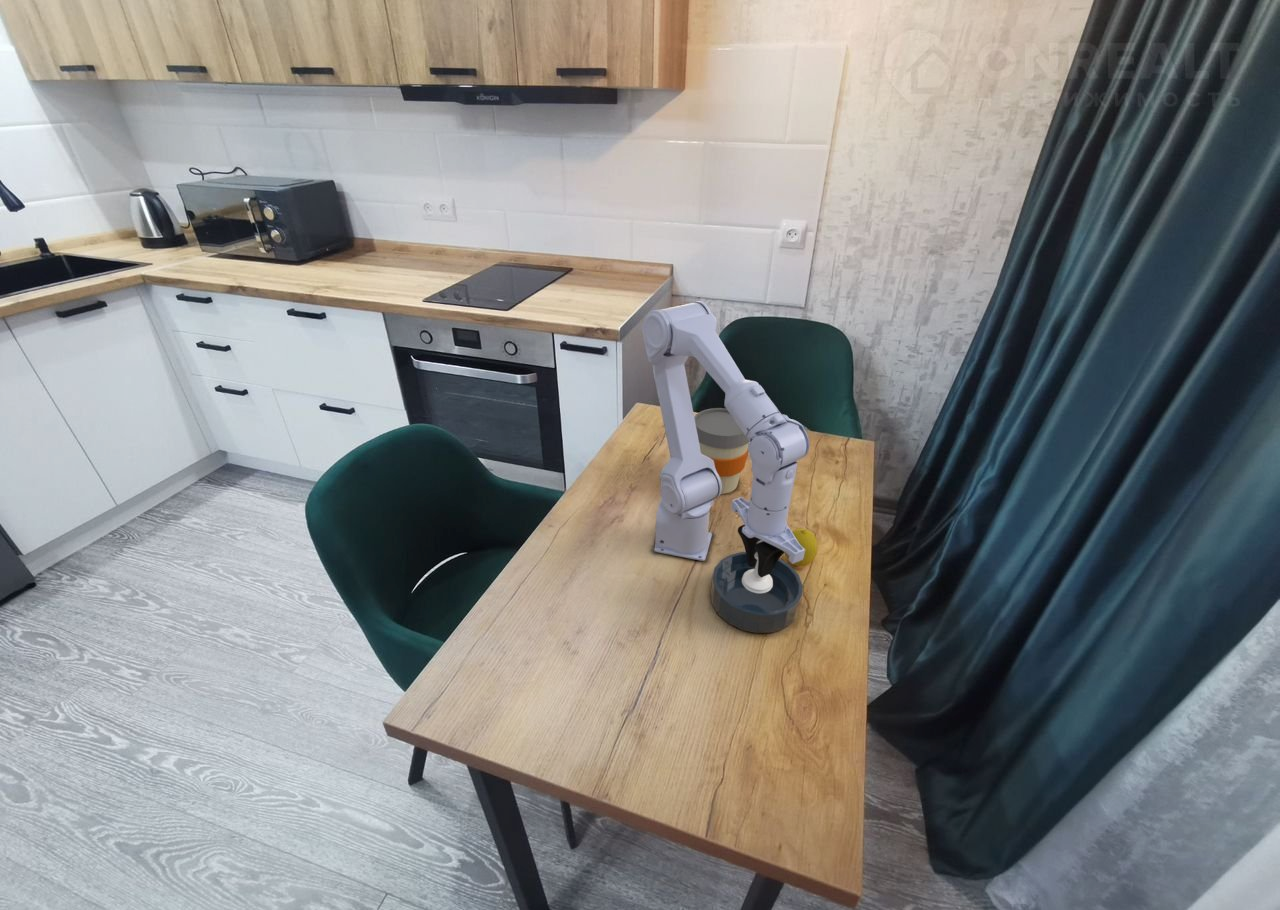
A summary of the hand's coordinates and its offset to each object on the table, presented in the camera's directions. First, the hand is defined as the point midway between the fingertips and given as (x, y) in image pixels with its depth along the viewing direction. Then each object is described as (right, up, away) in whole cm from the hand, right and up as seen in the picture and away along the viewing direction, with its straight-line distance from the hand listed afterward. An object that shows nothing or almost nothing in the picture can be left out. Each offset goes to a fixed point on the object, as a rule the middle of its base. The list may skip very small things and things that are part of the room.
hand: (759, 569), depth 89 cm
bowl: (0, -6, +4) cm, 7 cm away
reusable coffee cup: (-2, +12, +34) cm, 36 cm away
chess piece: (0, -3, +2) cm, 3 cm away
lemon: (+9, -2, +11) cm, 15 cm away
